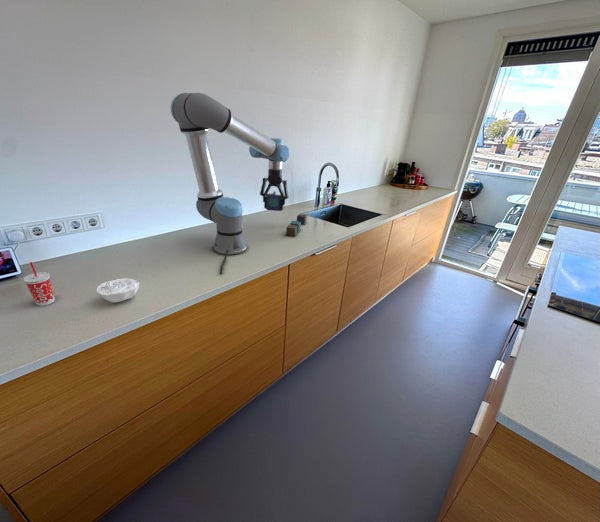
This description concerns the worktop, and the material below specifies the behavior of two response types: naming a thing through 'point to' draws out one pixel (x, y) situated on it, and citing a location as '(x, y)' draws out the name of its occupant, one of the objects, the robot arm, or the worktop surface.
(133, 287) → the cell model
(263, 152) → the robot arm
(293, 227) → the block
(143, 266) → the worktop surface
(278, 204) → the flask
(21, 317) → the worktop surface
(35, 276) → the beverage cup
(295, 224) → the block
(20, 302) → the worktop surface
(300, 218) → the block
